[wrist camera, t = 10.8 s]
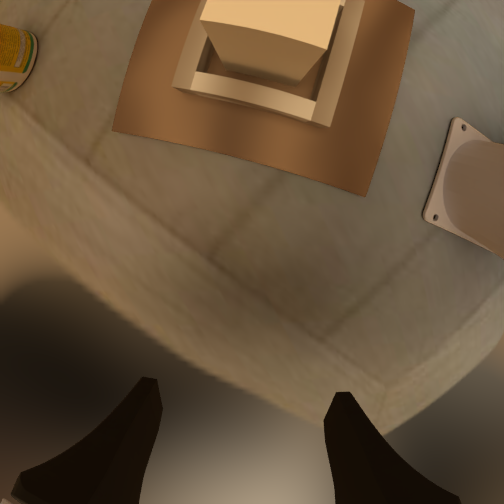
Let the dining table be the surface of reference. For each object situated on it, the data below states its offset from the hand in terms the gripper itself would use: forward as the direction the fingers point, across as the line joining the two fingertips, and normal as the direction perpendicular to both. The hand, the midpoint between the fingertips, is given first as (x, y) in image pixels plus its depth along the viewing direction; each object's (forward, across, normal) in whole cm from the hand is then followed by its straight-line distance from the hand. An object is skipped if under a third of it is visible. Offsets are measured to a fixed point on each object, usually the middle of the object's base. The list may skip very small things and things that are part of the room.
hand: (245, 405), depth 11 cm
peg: (+9, 0, -15) cm, 18 cm away
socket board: (+10, 0, -15) cm, 19 cm away
